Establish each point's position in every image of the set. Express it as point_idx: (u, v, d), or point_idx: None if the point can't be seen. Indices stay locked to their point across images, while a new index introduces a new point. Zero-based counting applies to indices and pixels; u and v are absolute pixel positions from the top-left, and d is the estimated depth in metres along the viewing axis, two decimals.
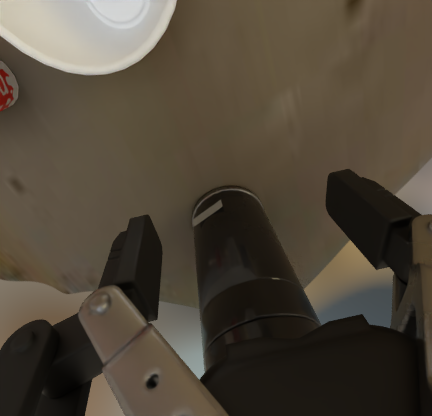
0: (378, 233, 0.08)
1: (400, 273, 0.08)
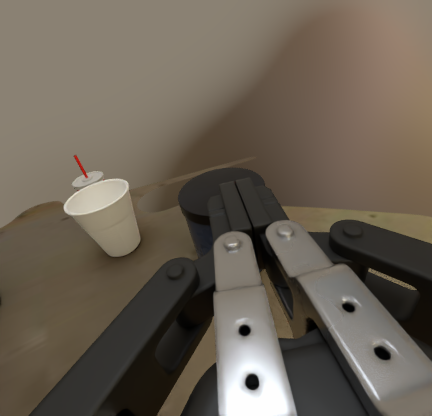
0: (253, 237, 0.09)
1: (268, 273, 0.09)
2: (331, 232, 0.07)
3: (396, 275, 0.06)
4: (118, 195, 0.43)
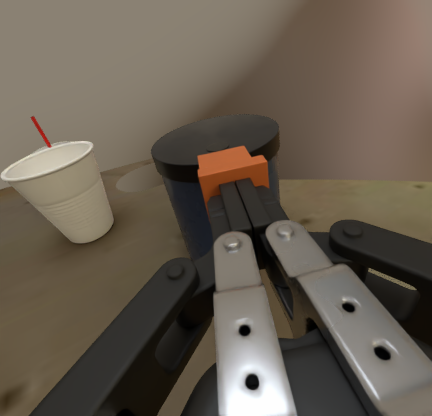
0: (253, 237, 0.09)
1: (267, 272, 0.09)
2: (331, 232, 0.07)
3: (395, 275, 0.06)
4: None
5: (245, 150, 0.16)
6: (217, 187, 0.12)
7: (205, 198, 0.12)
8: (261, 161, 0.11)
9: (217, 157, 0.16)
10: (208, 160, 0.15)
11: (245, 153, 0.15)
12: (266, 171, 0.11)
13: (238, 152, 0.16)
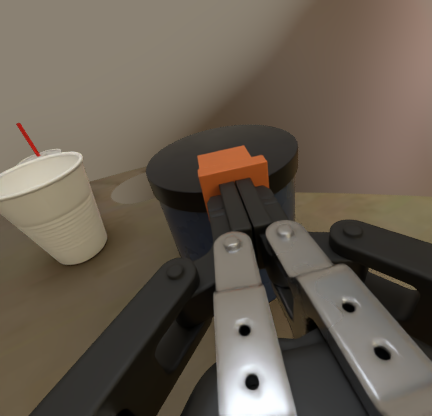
0: (253, 237, 0.09)
1: (268, 273, 0.09)
2: (331, 232, 0.07)
3: (396, 275, 0.06)
4: None
5: (245, 150, 0.16)
6: (217, 187, 0.12)
7: (205, 198, 0.12)
8: (261, 161, 0.11)
9: (217, 157, 0.16)
10: (207, 160, 0.15)
11: (245, 153, 0.15)
12: (266, 171, 0.11)
13: (238, 152, 0.16)
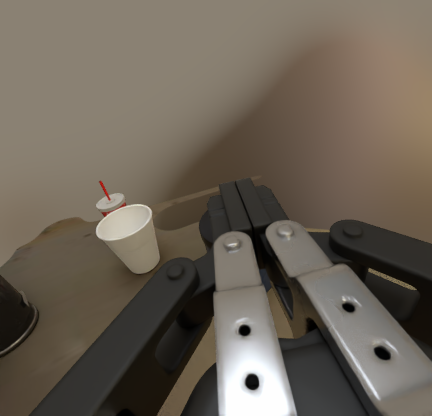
0: (253, 237, 0.09)
1: (268, 272, 0.09)
2: (331, 232, 0.07)
3: (395, 275, 0.06)
4: (140, 218, 0.48)
5: None
6: None
7: None
8: None
9: None
10: None
11: None
12: None
13: None
